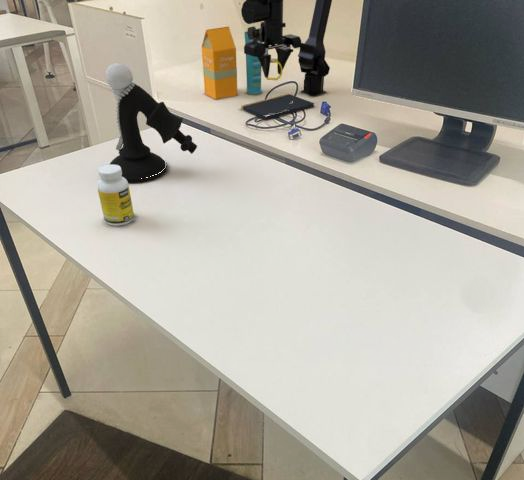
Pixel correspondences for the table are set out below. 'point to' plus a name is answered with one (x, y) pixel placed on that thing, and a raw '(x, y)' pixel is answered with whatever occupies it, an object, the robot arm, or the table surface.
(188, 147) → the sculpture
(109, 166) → the pill bottle
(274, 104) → the dark rectangular board
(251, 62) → the tube
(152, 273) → the table surface
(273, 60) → the watch
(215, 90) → the orange juice
